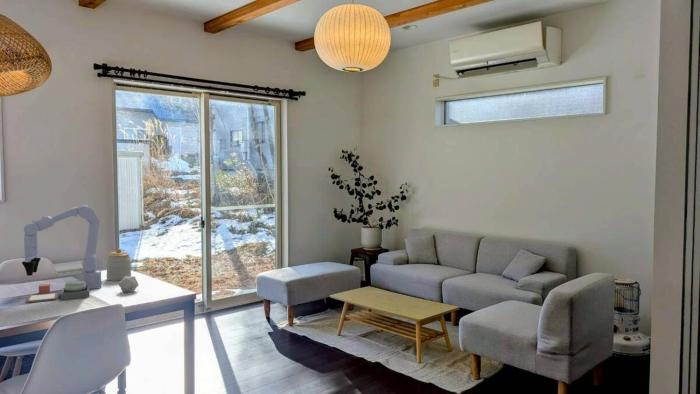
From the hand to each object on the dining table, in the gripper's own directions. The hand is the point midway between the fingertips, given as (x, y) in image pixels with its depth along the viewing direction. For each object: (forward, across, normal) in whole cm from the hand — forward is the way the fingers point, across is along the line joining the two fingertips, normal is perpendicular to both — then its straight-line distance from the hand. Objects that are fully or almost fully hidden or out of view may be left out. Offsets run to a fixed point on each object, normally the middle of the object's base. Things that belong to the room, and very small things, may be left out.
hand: (32, 273), depth 243 cm
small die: (+10, +2, +6) cm, 12 cm away
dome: (+7, +10, +21) cm, 24 cm away
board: (+10, +12, +7) cm, 17 cm away
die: (+10, +10, +45) cm, 47 cm away
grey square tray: (+10, +10, +21) cm, 26 cm away
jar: (+10, -24, +37) cm, 46 cm away
